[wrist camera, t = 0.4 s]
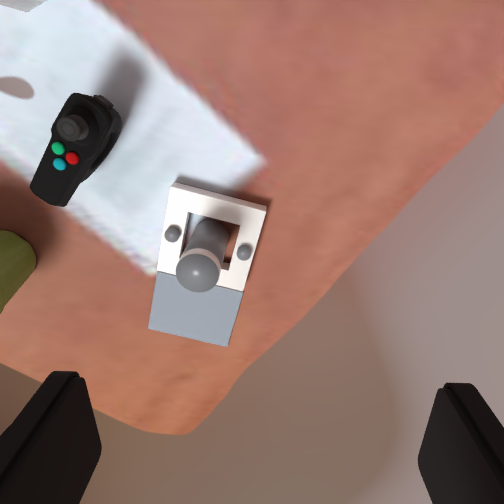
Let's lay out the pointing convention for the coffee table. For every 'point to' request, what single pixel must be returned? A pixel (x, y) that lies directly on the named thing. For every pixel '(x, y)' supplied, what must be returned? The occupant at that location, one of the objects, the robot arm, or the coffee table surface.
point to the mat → (193, 310)
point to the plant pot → (14, 264)
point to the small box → (21, 4)
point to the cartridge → (203, 257)
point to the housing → (215, 207)
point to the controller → (76, 147)
